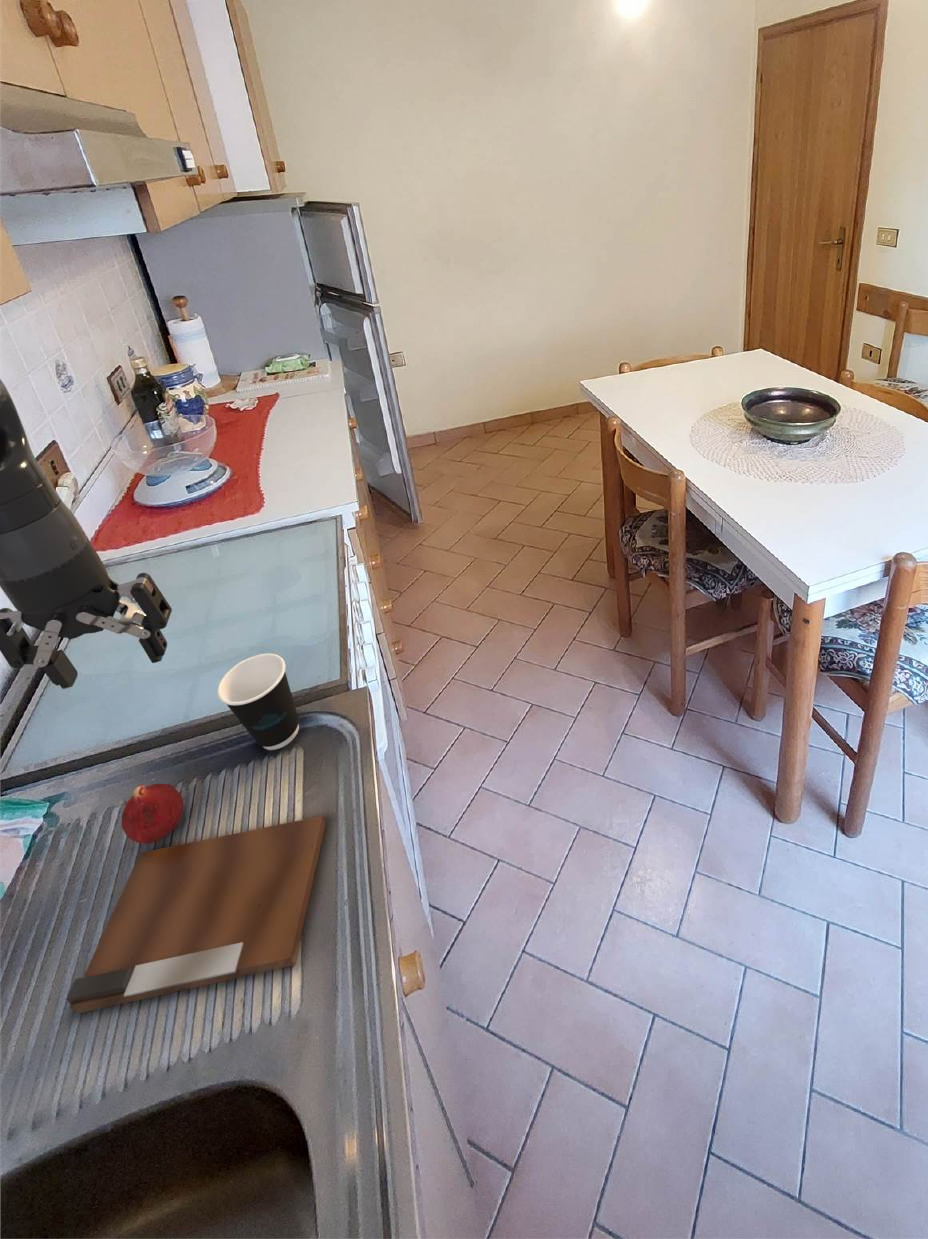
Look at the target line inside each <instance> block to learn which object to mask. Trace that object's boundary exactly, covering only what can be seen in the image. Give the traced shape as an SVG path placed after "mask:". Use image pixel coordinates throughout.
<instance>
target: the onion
mask: <svg viewBox="0 0 928 1239" xmlns="http://www.w3.org/2000/svg"><path fill="white" fill-rule="evenodd" d="M132 793H133V794H132V796H131V797H130V798H129V799H128V800H127V802H126V804H125V806H124V808H123V810H122V813H121V828H122V830H123V832H124V835H126V837H127V839H129V840H130V841H132V842H134V843H137V844H138V843H139V844H143V845H144V844H152V843H156V842H158V841H161V840H162V839H164V838H166V837H167V836H168V835H169V834H171V832H173V831H174V830H175V829H176V827H177V825H178V824H179V822H180V821H181V817H182V815H183V812H184V808H185V806H184V799H183V795H182V794H181V793H180V791H178V789H177V788H176V787H175V786H174V785H172V784H169V783H153V784H150V785H147V786H146V785H143V784H142V785H138V786H136V788H135V789H134V790H133V791H132Z"/></svg>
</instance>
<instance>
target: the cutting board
mask: <svg viewBox="0 0 928 1239" xmlns="http://www.w3.org/2000/svg"><path fill="white" fill-rule="evenodd" d="M326 824H327V823H326V820H325V818H324V817H323V815H320V816H315V817H310V818H305V819H300V820H295V821H290V822H285V823H280V824H275V825H269V826H265V827H260V828H256V829H251V830H246V831H239V832H235V833H231V834H226V835H221V836H220V835H219V836H216V837H211V838H206V839H201V840H195V841H191V842H187V843H182V844H177V845H171V846H166V847H162V848H161V847H160V848H157V849H151V850H147V851H142V852H140V853H139V854H138V857H137V859H136V861H135V864H134V866H133V867H132V870H131V872H130V875H129V877H128V878H127V881H126V883H125V884H124V887H123V890H122V892H121V893H120V896H119V898H118V900H117V903H116V904H115V907H114V909H113V911H112V913H111V915H110V917H109V920H108V922H107V925H106V927H105V928H104V931H103V933H102V935H101V937H100V940H99V942H98V944H97V946H96V949H95V951H94V953H93V955H92V957H91V960H90V962H89V964H88V966H87V968H86V971H85V973H84V975H83V976H82V977H79V978H75V979H74V981H73V983H72V985H71V988H70V990H69V992H68V994H67V996H66V999H65V1000H66V1001H67V1003H69V1004H70V1005H69V1008H70V1009H71V1010H72V1011H73V1012H74V1013H75V1014H77V1015H80V1014H84V1013H87V1012H92V1011H97V1010H100V1009H105V1008H109V1007H114V1006H119V1005H123V1004H128V1003H132V1002H133V1003H134V1002H136V1001H141V1000H146V999H150V998H154V997H160V996H164V995H168V994H172V993H173V994H174V993H177V992H182V991H186V990H190V989H196V988H199V987H203V986H209V985H212V984H218V983H223V982H227V981H231V980H235V979H239V978H244V977H249V976H253V975H258V974H263V973H266V972H270V971H275V970H276V971H277V970H280V969H285V968H289V967H294V966H295V965H296V961H297V957H298V953H299V948H300V943H301V938H302V934H303V930H304V925H305V920H306V916H307V911H308V907H309V904H310V903H309V902H310V898H311V892H312V888H313V883H314V880H315V875H316V871H317V865H318V861H319V858H320V852H321V847H322V842H323V838H324V833H325V831H326V830H325V829H326Z"/></svg>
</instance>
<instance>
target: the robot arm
mask: <svg viewBox="0 0 928 1239" xmlns="http://www.w3.org/2000/svg"><path fill="white" fill-rule="evenodd" d="M103 562H104V561H103V560H102V559H101V558H100V556H99V554H98V552H97V551H96V548H95V547H94V546H93V544H92V542H91V541H90V539H89V537H88V536H87V534H86V532H85V531H84V529H83V527H82V525H81V524H80V522H79V521H78V519H77V517H76V516H75V514H74V513H73V512H72V511H71V510H70V508H69V507H68V506H67V505H66V504H65V503H64V501H63V500H62V498H61V497H60V495H59V493H58V491H57V490H56V488H55V486H54V485H53V483H52V482H51V480H50V478H49V476H48V475H47V473H46V472H45V470H44V468H43V467H42V466H41V465H40V463H39V462H38V461H37V459H36V457H35V455H34V453H33V451H32V449H31V446H30V442H29V440H28V436H27V434H26V430H25V428H24V426H23V423H22V421H21V418H20V415H19V413H18V410H17V408H16V404H15V403H14V400H13V398H12V396H11V394H10V392H9V390H8V388H7V387H6V385H5V383H4V382H3V381H2V379H1V378H0V589H1V590H2V592H3V593H4V594H5V596H6V597H7V598H8V601H9V602H10V603H11V604H12V606H13V607H14V608H15V609H16V610H13V609H11V608H9V607H2V608H0V653H1V654H2V656H3V658H4V659H5V661H6V662H7V664H8V666H9V667H10V668H12V669H22V668H24V666H25V665H26V666H27V665H33V666H34V667H37V668H41V670H42V671H43V672H44V674H45V675H46V676H47V678H48V679H49V680H50V682H51V683H52V684H53V685H55V686H59V687H60V688H61V689H62V690H65V689H69V688H72V687H73V686H74V685H75V682H76V680H77V679H78V674H79V673H78V671H77V669H76V667H75V666H74V665H73V663H72V661H71V660H70V659H69V657H68V656H67V654H66V653H65V652H64V649H57V648H58V645H59V643H60V640H61V638H63V639H67V640H68V641H70V640H75V639H78V638H80V637H82V636H83V635H86V634H96V633H100V632H103V631H104V630H107V631H109V632H112V633H115V634H119V635H120V634H123V633H125V634H128V635H131V636H133V637H136V638H138V642H139V644H140V646H141V647H142V649H143V650H144V652H145V653H146V655H147V657H148V659H149V660H150V662H151V663H152V664H155V663H159V662H161V661H162V659H163V656H165V653H166V651H167V648H168V641H167V639H166V638H165V635H164V634H163V632H162V631H161V630H164V629H165V628H166V627H167V626H168V622H169V619H170V617H171V614H172V611H173V608H172V607H171V605H170V604H169V602H168V601H167V599H166V597H165V596H164V595H163V593H162V592H161V590H160V589H159V587H158V585H157V584H156V583H155V581H154V579H153V578H152V576H151V575H150V573H148V572H140V573H138V574H137V576H136V578H135V579H134V580H131V581H127V582H124V583H121V584H119V583H117V582H116V581H114V580H112V579H111V578H110V577H109V574H108V571H107V567H106V565H105V564H104V563H103ZM123 597H124V598H127V599H129V601H130V602H129V601H128V600H125V599H122V598H123ZM136 603H137V605H138V606H139V608H140V609H138V606H137V605H136ZM116 612H117V613H119V614H120V618H119V619H118V618H116V617H114V616H115V614H116ZM24 625H26V626H29V627H31V628H33V629H37V630H39V631H42V632H43V634H42V636H41V639H40V641H39V643H38V645H34V644H33V642H32V640H31V638H30V637H29V635H28V633H27V632H26V630H25V628H24Z"/></svg>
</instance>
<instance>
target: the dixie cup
mask: <svg viewBox="0 0 928 1239" xmlns="http://www.w3.org/2000/svg"><path fill="white" fill-rule="evenodd" d="M287 676H288V675H287V673H286V662H285V660H284V659H283V658H282V657H281V656H280V655H278V654H275V653H260V654H256V655H253V656H250V657H247V658H246V659H243V660H242V661H239V662H238V663H236V664H235V665H234V666H233V667H231V668H230V669H229V670H228V671H227V672H225V674H224V675H223V677H222V678H221V679H220V681H219V683H218V686H217V691H216V692H217V698H218V700H219V701H220V702H222V703H223V704H225V705H226V706H227V707H228V709H229V710H230V711H231V712H232V713H233V714H234V716H235V717H236V718H237V719H238V721H239V722H240V723H241V724H242V726H243V727H244V728H245V730H246V731H247V732H248V733H249V735H250V736H251V737H252V739H253V740H254V741H255V742H256V744H257V745H259V746H260V747H262V748H264V749H265V750H267V751H276V750H278V749H281V748H284V747H286V746H287V745H289V744H290V743H291V742H292V741H293V740H294V739H295V738H296V737H297V735H298V733H299V730H300V725H299V723H300V719H299V715H298V711H297V708H296V705H295V701H294V698H293V694H292V691H291V687H290V684H289V679H288V677H287Z"/></svg>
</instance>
